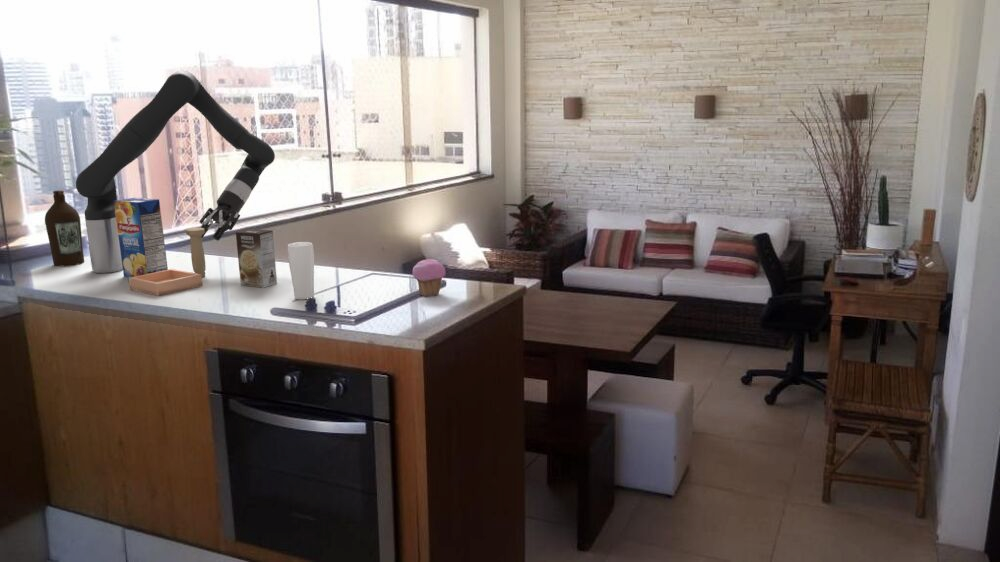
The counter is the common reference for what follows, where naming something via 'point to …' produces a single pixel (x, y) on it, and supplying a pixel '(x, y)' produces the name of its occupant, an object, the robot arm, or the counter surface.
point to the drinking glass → (302, 269)
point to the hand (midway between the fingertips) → (207, 237)
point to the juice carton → (140, 236)
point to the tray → (165, 282)
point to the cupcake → (429, 276)
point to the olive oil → (64, 232)
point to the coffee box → (256, 257)
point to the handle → (197, 250)
